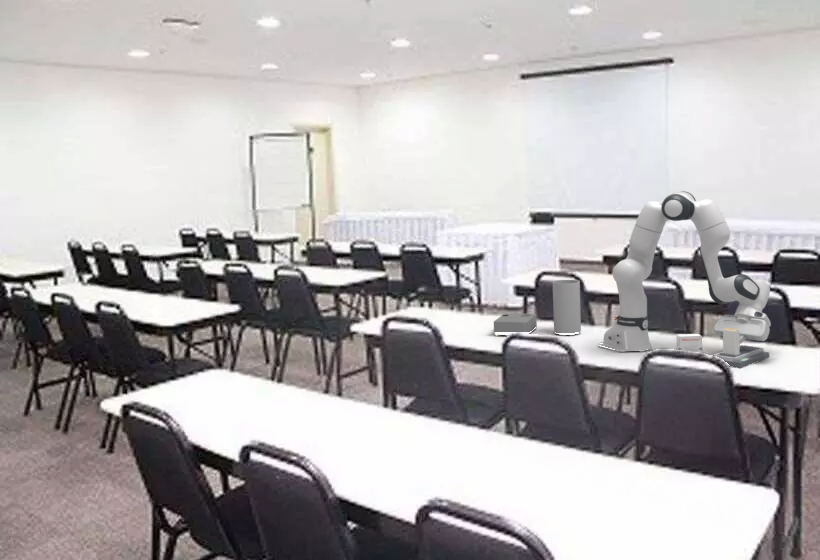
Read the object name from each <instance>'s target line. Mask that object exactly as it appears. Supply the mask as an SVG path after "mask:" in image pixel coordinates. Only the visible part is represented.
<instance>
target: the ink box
mask: <svg viewBox="0 0 820 560" xmlns="http://www.w3.org/2000/svg"><path fill="white" fill-rule="evenodd" d="M675 339H676V341H675V342H676V351H677V350H681V351H691V352H699V353H702V354H703V336H702V335H701V334H700V333H688V334H685V333H683V334H681V333H680V334H676V338H675Z"/></svg>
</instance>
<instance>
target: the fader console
mask: <svg viewBox="0 0 820 560" xmlns="http://www.w3.org/2000/svg"><path fill="white" fill-rule="evenodd" d="M764 349H765V348H763V347H758V346H753V345H752V346H751V345H746V344H745V345H742V344H741V345H740V350H739V353H741V355H740V356H737V357H734V358H733V357H727V356H721V352H722V351H721V352H717V353H714V354H713V355H714V356H717V357H719V358H721V359H723V360H724V361H725V362H727V363H728V364H729V365H730V366H733V367H732V368H736V367H738V368H737V369H742V368H745V367H747V366H750V365H753V364H755V363H758V362H761V361H762V360H766V359H768V357H769V358H770V351H764ZM765 358H766V359H765ZM760 360H761V361H760ZM757 361H758V362H757ZM754 362H755V363H754ZM752 363H753V364H752ZM749 364H750V365H749ZM730 366H729V367H730ZM744 366H745V367H744Z"/></svg>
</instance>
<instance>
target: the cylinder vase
mask: <svg viewBox="0 0 820 560" xmlns="http://www.w3.org/2000/svg"><path fill="white" fill-rule="evenodd" d="M580 284H581V281H580V280H577V279H559V280H553V281H552V301H553V302H552V304H553V307H552V309H553V332H556V333H575V332H580V331H581V332H582V327H581V326H582V324H581V322H582V321H581V317H582V315H581V289H580V288H581V287H580V286H581V285H580Z"/></svg>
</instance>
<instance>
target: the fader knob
mask: <svg viewBox="0 0 820 560" xmlns="http://www.w3.org/2000/svg"><path fill="white" fill-rule="evenodd" d="M739 350H740V330H736V329H728V328H724V329H723V336H722V351H721V356H727V357H733V358H734V357H737V356H740V355H741V353H739Z"/></svg>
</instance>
